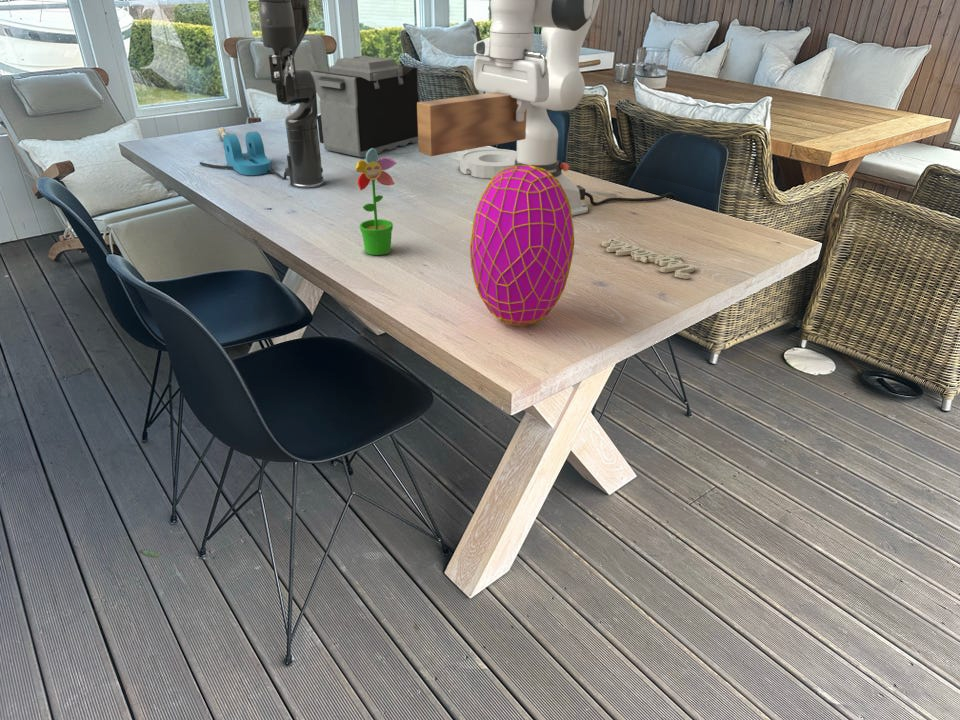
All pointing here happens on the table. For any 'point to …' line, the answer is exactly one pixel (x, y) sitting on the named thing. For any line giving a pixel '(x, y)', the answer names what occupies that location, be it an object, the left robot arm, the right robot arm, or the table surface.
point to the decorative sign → (651, 257)
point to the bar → (468, 123)
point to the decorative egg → (522, 244)
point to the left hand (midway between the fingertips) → (286, 98)
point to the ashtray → (486, 162)
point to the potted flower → (377, 229)
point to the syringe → (222, 133)
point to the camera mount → (246, 154)
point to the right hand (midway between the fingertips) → (509, 118)
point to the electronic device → (367, 105)
